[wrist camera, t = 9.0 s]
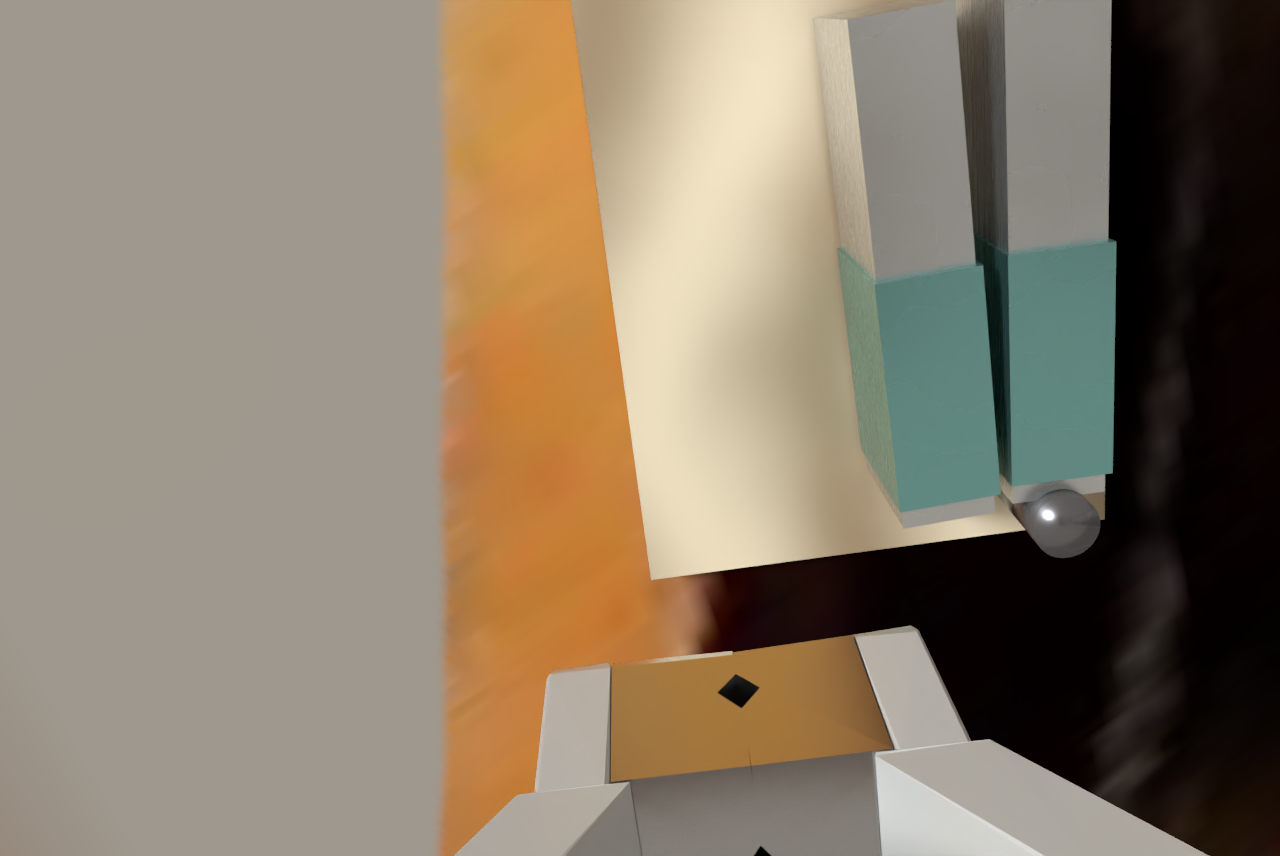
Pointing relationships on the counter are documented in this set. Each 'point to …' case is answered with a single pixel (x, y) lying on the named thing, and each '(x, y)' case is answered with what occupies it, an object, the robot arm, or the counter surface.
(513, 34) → the counter surface
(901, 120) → the tong arm
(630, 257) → the board
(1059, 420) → the tongs fixed arm
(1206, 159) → the counter surface
